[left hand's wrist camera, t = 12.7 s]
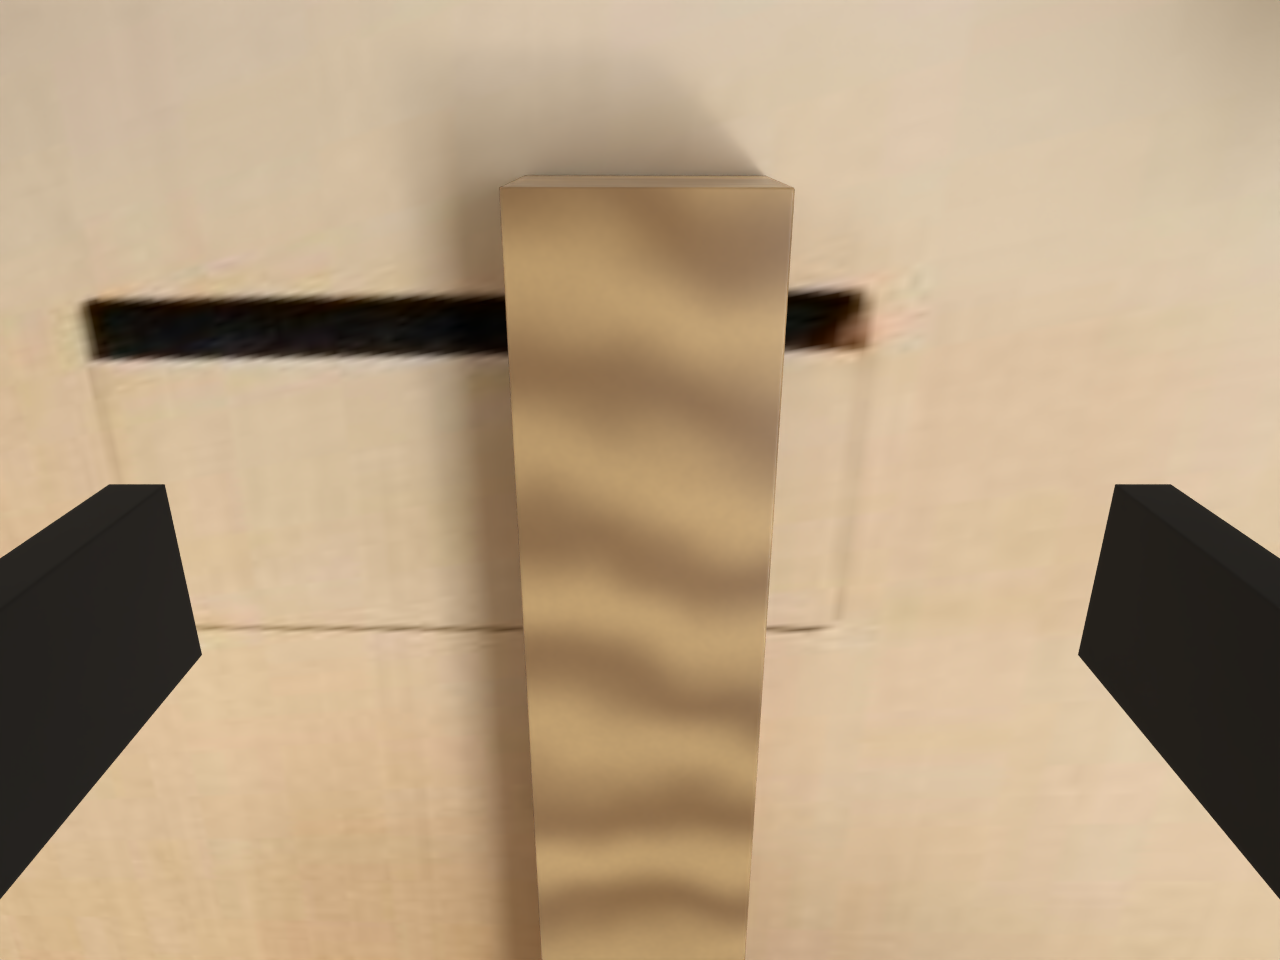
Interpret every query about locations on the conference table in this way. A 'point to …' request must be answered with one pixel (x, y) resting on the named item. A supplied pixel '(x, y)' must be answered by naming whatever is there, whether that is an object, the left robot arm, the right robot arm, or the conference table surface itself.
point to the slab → (645, 543)
